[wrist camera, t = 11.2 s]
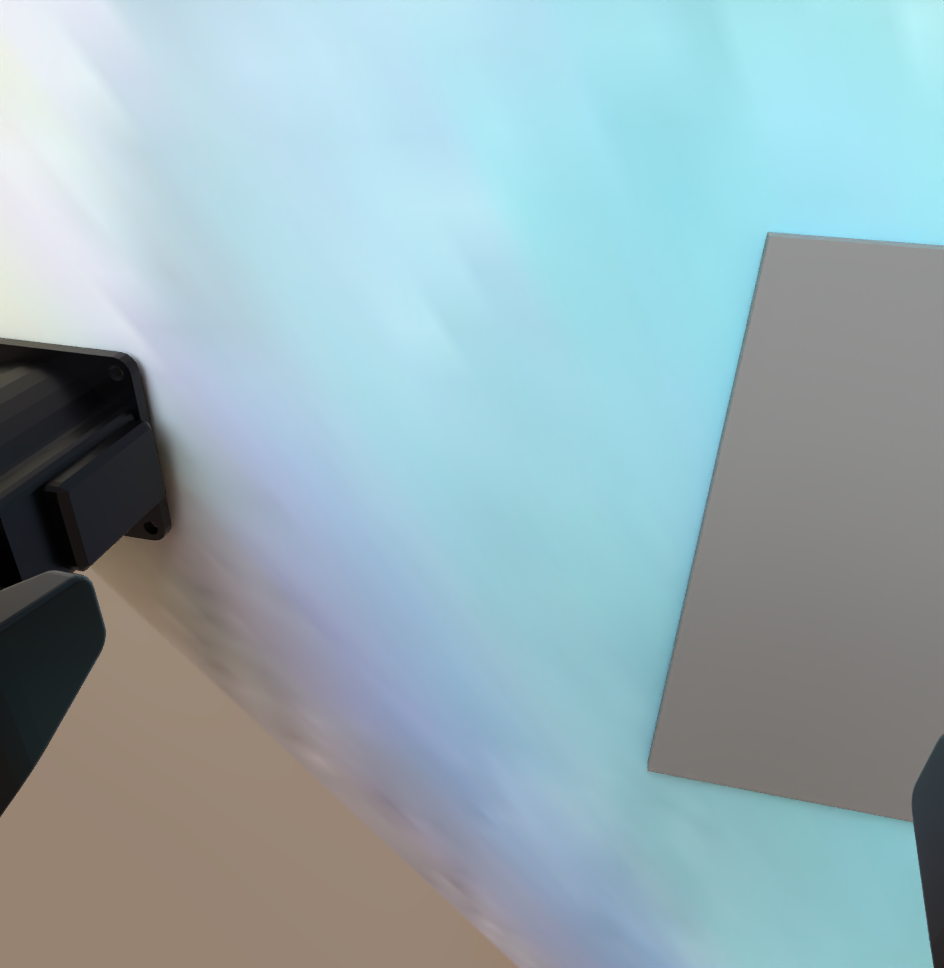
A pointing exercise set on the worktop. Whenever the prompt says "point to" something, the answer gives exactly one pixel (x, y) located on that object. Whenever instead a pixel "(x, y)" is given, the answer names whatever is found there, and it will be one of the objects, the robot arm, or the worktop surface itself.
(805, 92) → the worktop surface
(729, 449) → the slate mat
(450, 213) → the worktop surface
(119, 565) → the worktop surface
